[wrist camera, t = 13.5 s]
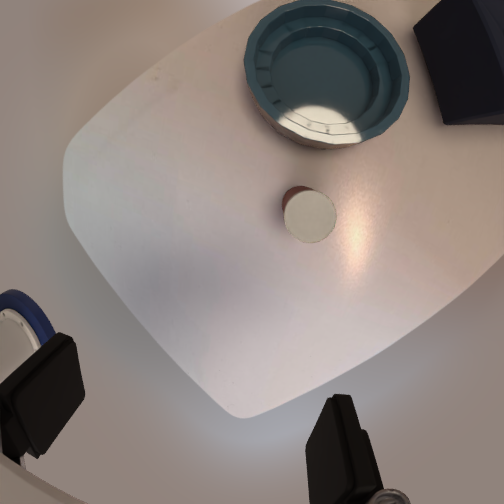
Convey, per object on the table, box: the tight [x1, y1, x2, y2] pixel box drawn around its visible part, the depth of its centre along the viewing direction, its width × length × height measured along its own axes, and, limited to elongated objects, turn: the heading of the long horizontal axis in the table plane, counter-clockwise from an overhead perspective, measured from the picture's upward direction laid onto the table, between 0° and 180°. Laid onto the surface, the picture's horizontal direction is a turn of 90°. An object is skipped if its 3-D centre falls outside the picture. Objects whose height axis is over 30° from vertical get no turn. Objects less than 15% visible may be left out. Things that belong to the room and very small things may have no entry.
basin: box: [244, 0, 410, 149], centre depth 25 cm, size 15×15×6 cm
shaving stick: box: [282, 186, 336, 243], centre depth 27 cm, size 4×4×9 cm
